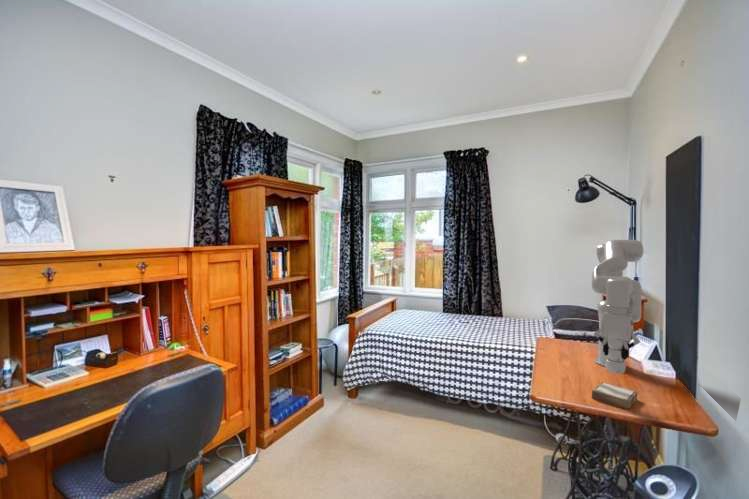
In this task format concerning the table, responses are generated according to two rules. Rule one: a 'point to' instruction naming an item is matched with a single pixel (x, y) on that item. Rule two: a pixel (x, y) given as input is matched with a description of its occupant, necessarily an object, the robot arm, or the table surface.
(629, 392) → the plinth
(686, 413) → the table surface
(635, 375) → the table surface
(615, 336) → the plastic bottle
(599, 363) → the robot arm
